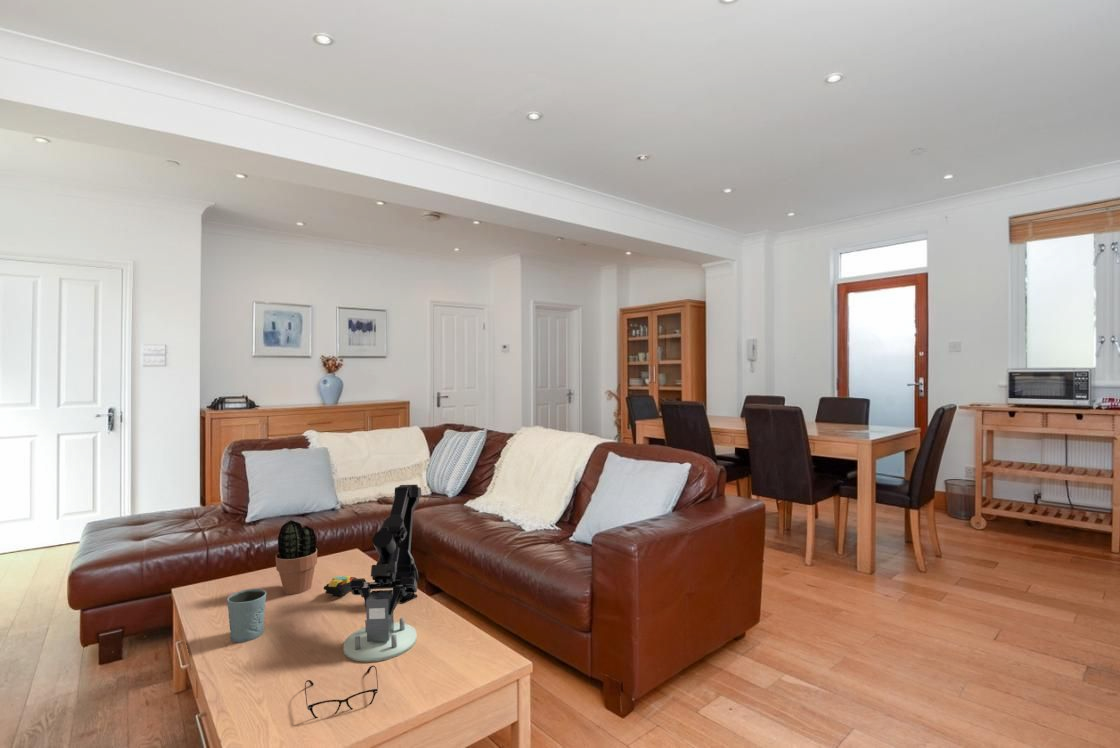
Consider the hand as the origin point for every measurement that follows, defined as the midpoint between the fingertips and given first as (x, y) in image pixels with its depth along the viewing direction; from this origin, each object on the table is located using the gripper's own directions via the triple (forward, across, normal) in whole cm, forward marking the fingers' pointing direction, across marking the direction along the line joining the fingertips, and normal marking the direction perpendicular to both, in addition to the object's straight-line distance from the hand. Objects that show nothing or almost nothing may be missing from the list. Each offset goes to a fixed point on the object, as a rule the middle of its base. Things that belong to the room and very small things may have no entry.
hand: (378, 615), depth 157 cm
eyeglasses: (+23, -3, -10) cm, 25 cm away
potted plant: (-24, -40, +37) cm, 59 cm away
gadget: (-21, -23, +34) cm, 46 cm away
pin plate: (+5, 0, +7) cm, 9 cm away
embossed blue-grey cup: (-1, -41, +13) cm, 43 cm away
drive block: (+4, 0, +6) cm, 7 cm away
